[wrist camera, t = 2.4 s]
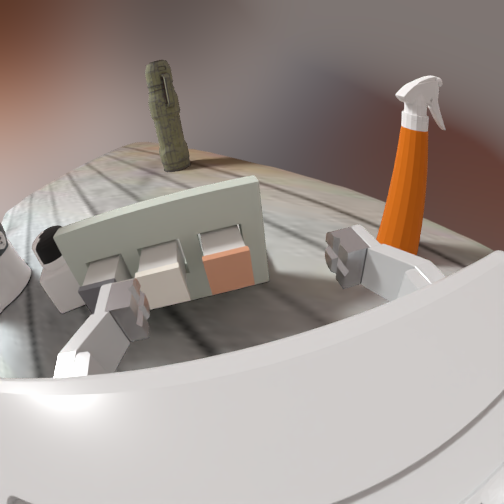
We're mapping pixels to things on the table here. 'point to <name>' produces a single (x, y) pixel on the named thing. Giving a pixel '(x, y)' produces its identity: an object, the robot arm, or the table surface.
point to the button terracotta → (226, 260)
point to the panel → (171, 230)
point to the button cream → (163, 274)
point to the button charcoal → (102, 278)
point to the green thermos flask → (166, 116)
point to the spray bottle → (410, 166)
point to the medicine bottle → (56, 272)
